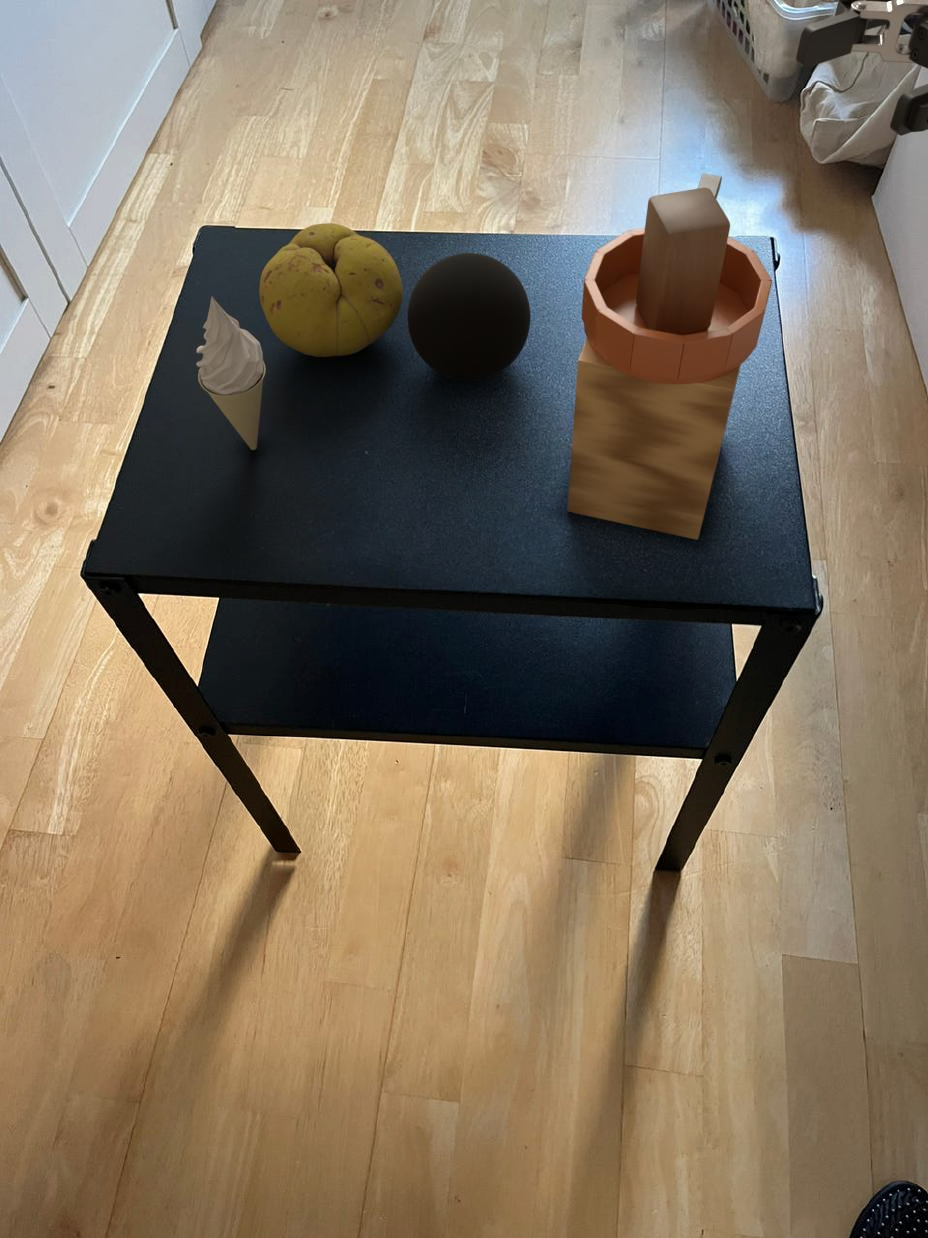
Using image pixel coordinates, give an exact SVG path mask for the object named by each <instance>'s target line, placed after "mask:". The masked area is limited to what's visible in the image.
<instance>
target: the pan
mask: <svg viewBox="0 0 928 1238" xmlns="http://www.w3.org/2000/svg"><path fill="white" fill-rule="evenodd" d="M722 181H723V176H721V175H715V174H708V173H707V174H706V173H702V174H701V177H700V179H699V182H698V183H699V184H698V186H697V189H698V188H709V189H710V190H711V192H712V193H713V195H714V196H715V198H716V200H717V198H718V195H719V192H720V189H721V187H722ZM644 232H645V227H640V228H634V229H629V230H627V231H625V232H623V233H621V234H620V235H618V236H617V237H615V238H613V239H612V240H611V241H609V242H607V243H606V244H604V245H603V246H601V247H600V248H598V249H597V250H595V252H594V253H593V256H592V259H591V261H590V263H589V266H588V269H587V272H586V274H585V277H584V278H583V288H582V289H583V291H582V301H581V302H582V305H581V320H582V322H583V329H584V333H585V337H586V338H587V339H588V341H589V343H590V345H591V347H592V348H593V349H594V350H595V352H596V353H597V354H598V355H599V356H600V357H601V358H602V359H603V360H604V361H606V362H607V363H608V364H609V365H611V366H612V367H614V368H616V369H617V370H619V371H621V372H623V373H625V374H628V375H630V376H633V377H636V378H638V379H642V380H646V381H650V382H655V383H662V384H692V383H699V382H704V381H708V380H712V379H715V378H718V377H720V376H723V375H725V374H727V373H729V372H731V371H732V370H734V369H735V368H737V367H739V366H740V365H741V366H742V364H743V363H745V362H746V361H747V360H748V358H749V357H750V356H751V354H752V353H753V352H754V351H755V350H756V349H757V345H758V342H759V337H760V334H761V329H762V326H763V322H764V318H765V314H766V310H767V305H768V302H769V297H770V293H771V289H772V284H773V279H772V277H771V276H770V275H769V272H768V271H767V268H765V265H764V264H763V263H762V261H761V259H760V258H759V256H758V254H757V253H756V251H755V250H754V249H752V248H750V247H748V246H747V245H745V244H743V243H741V242H740V241H738V240H736V239H734V238H732V237H730V236H729V235H728V240H727V245H726V250H725V255H724V260H723V265H722V270H721V275H720V280H719V285H718V290H717V295H716V300H715V305H714V310H713V315H712V320H711V325H710V327H709V328H708V329H706V330H702V331H696V332H690V333H685V334H679V335H677V334H671V333H666V332H660V331H655V330H649V328H648V326H647V324H646V322H645V320H644V318H643V316H642V314H641V312H640V309H639V307H638V305H637V303H636V297H637V289H638V280H639V272H640V264H641V256H642V248H643V240H644Z"/></svg>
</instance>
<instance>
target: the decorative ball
mask: <svg viewBox="0 0 928 1238" xmlns="http://www.w3.org/2000/svg"><path fill="white" fill-rule="evenodd" d="M531 317H532V316H531V306H530V302H529V298H528V295H527V291H526V289H525V287H524V285H523V284H522V282H521V281H520V279H519V277H518V276H517V275H516V273H515V272H513V271H512V269H511V268H509V267H508V266H507V265H506V264H504V263H503V262H501V261H500V260H498V259H496V258H495V257H492V256H489V255H486V254H482V253H477V252H476V253H475V252H462V253H461V252H460V253H456V254H453V255H449V256H447V257H444V258H441V259H440V260H439V261H438V260H437V262H435V263H434V264H433V265H431V266H430V267H429V268H428V269H427V270H426V271H424V273H422V274H421V276H420V278H418V281H417V282H416V284H415V286H414V287H413V290H412V291H411V295H410V297H409V301H408V306H407V328H408V333H409V336H410V340H411V342H412V345H413V347H414V349H415V351H416V353H417V354H418V356H419V357H420V358H421V359H422V360H423V362H425V364H426V365H427V366H429V367H430V368H431V369H432V370H433V371H435V372H437V373H438V374H440V375H442V376H444V377H446V378H448V379H452V380H455V381H460V382H476V381H477V382H478V381H482V380H486V379H489V378H492V377H494V376H496V375H498V374H500V373H501V372H503V371H505V370H506V369H507V368H508V367H510V365H512V363H514V361H515V360H516V359H517V358H518V357H519V355H520V354H521V352H522V350H523V348H524V347H525V344H526V342H527V339H528V337H529V332H530V328H531V319H532V318H531Z"/></svg>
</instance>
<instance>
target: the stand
mask: <svg viewBox="0 0 928 1238" xmlns="http://www.w3.org/2000/svg"><path fill="white" fill-rule="evenodd" d="M741 367H742V364H741V365H740V366H739V367H737V368H735V369H734V370H732V371H731V372H729V373H727V374H725V375H723V376H720V377H718V378H715V379H712V380H708V381H704V382H699V383H692V384H662V383H655V382H650V381H646V380H642V379H638V378H636V377H633V376H630V375H628V374H625V373H623V372H621V371H619V370H617V369H616V368H614V367H612V366H611V365H609V364H608V363H607V362H606V361H604V360H603V359H602V358H601V357H600V356H599V355H598V354H597V353H596V352H595V350H594V349H593V348H592V347H591V345H590V343H589V341H588V339H587V337H586V339H585V341H584V343H583V346H582V349H581V352H580V354H579V357H578V360H577V370H576V385H575V397H574V398H575V399H574V412H573V427H572V429H573V430H572V442H571V454H570V455H571V456H570V469H569V472H570V473H569V484H568V495H567V496H568V498H567V511H566V512H568V513H573V514H577V515H583V516H586V517H591V518H595V519H599V520H604V521H610V522H613V523H619V524H622V525H627V526H632V527H636V528H641V529H646V530H651V531H655V532H659V533H663V534H668V535H673V536H678V537H681V538H686V539H692V540H696V541H697V540H699V537H700V534H701V531H702V525H703V521H704V518H705V514H706V510H707V505H708V502H709V499H710V495H711V494H710V493H711V490H712V485H713V482H714V478H715V474H716V469H717V465H718V462H719V457H720V453H721V449H722V445H723V442H724V438H725V433H726V429H727V424H728V420H729V417H730V413H731V408H732V404H733V399H734V396H735V391H736V388H737V383H738V379H739V375H740V370H741Z"/></svg>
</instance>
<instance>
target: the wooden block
mask: <svg viewBox="0 0 928 1238" xmlns="http://www.w3.org/2000/svg"><path fill="white" fill-rule="evenodd" d="M644 228H645V232H644V240H643V248H642V256H641V264H640V272H639V280H638V289H637V297H636V303H637V305H638V307H639V309H640V312H641V314H642V316H643V318H644V320H645V322H646V324H647V326H648V328H649V330H655V331H660V332H666V333H671V334H677V335H679V334H685V333H690V332H696V331H702V330H706V329H708V328H709V327H710V325H711V320H712V315H713V310H714V305H715V300H716V295H717V290H718V285H719V280H720V275H721V270H722V265H723V260H724V255H725V250H726V245H727V240H728V236H729V235H730V230H731V223H730V220H729V217H728V216H727V215H726V213H725V211H724V210H723V208H722V207H721V205H720V203H719V202H718V200H717V199H716V198H715V196H714V195H713V193H712V192H711V190H710V189H709V188H698V187H697V188H693V189H687V190H681V191H675V192H669V193H663V194H657V195H652V196H651V197H649V198H648V201H647V207H646V216H645V224H644Z"/></svg>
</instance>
